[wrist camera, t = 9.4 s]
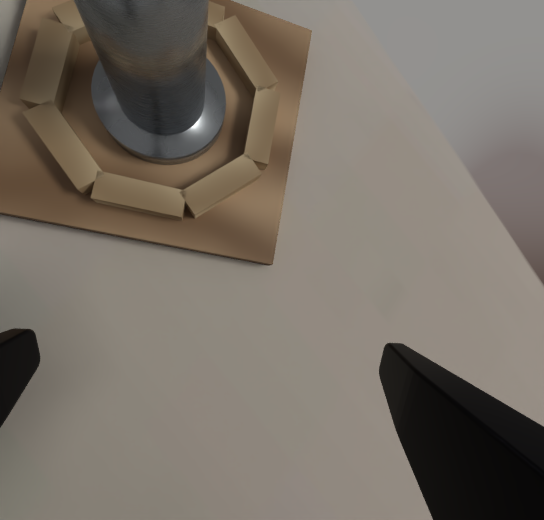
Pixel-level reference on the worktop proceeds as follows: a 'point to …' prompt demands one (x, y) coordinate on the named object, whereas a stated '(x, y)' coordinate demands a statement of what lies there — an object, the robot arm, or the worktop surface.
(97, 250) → the worktop surface
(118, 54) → the grey metal cylinder
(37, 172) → the socket board
